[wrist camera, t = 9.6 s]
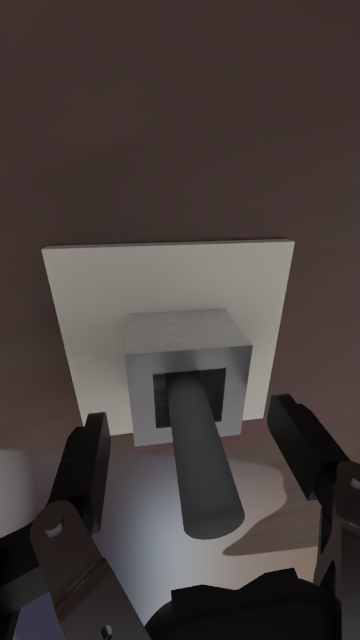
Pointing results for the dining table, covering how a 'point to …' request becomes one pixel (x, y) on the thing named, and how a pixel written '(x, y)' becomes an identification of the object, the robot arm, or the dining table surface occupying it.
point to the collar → (185, 367)
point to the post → (182, 387)
